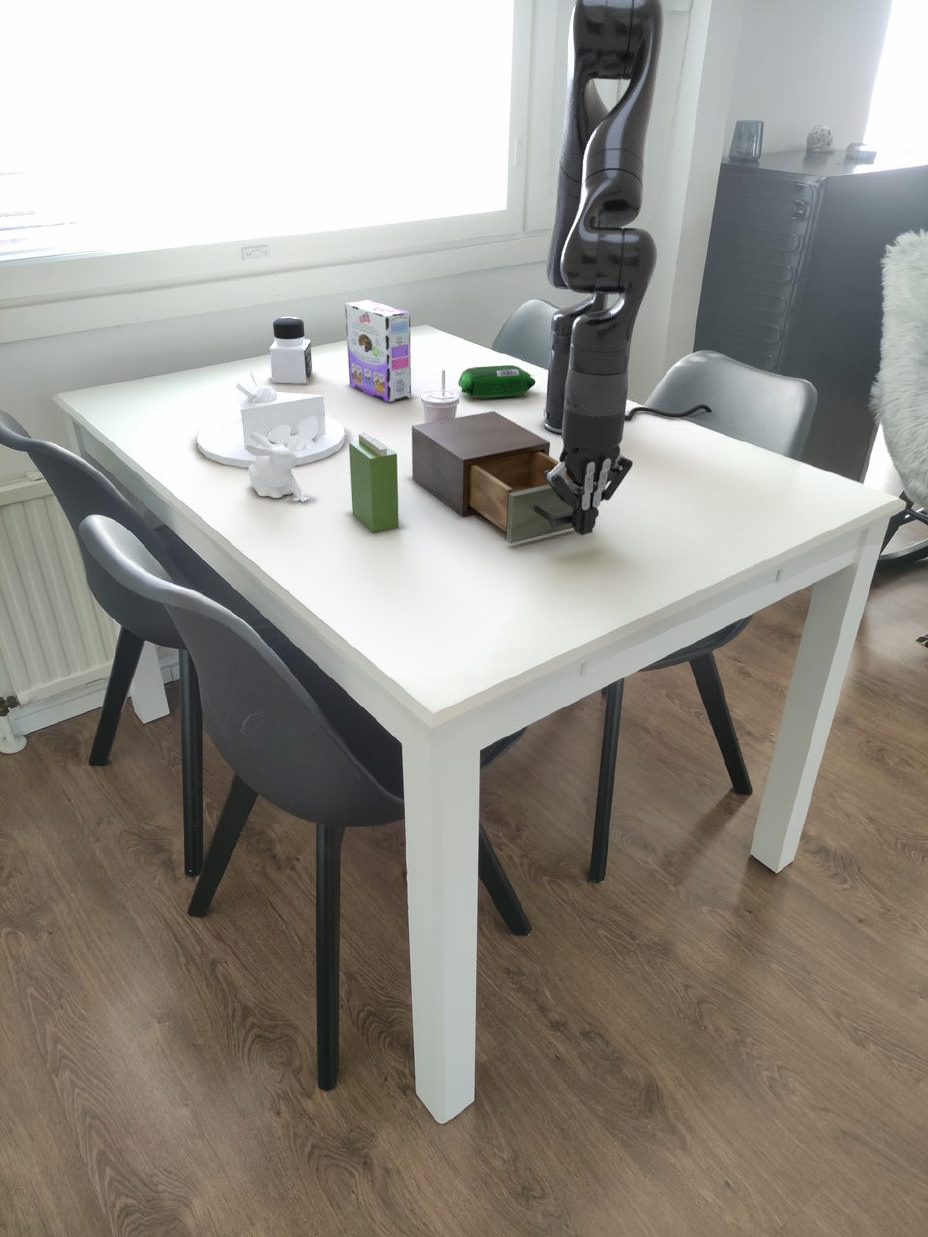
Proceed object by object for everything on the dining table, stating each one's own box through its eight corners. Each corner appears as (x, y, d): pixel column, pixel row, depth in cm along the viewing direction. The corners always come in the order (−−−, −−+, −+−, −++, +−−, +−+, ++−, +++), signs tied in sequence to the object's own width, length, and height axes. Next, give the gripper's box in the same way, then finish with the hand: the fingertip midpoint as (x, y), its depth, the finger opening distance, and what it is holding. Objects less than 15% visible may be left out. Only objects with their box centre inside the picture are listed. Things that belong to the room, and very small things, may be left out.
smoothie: (454, 460, 151) (455, 376, 144) (416, 457, 152) (415, 373, 145) (462, 447, 156) (463, 365, 149) (425, 443, 157) (425, 362, 150)
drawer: (615, 537, 126) (620, 491, 122) (532, 559, 120) (536, 511, 116) (534, 486, 140) (536, 443, 137) (457, 503, 134) (458, 459, 131)
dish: (196, 472, 145) (186, 403, 139) (201, 420, 166) (192, 357, 160) (351, 463, 149) (348, 395, 143) (337, 413, 170) (334, 352, 164)
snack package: (539, 398, 180) (541, 371, 177) (462, 402, 177) (463, 375, 174) (529, 387, 186) (530, 361, 183) (454, 391, 183) (454, 365, 180)
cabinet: (546, 497, 139) (550, 442, 134) (462, 516, 133) (463, 459, 128) (492, 462, 151) (493, 410, 146) (412, 479, 144) (411, 425, 140)
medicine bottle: (307, 384, 185) (302, 323, 178) (272, 383, 185) (266, 322, 178) (312, 373, 191) (308, 314, 185) (278, 373, 191) (273, 314, 185)
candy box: (412, 397, 179) (411, 311, 170) (388, 403, 175) (386, 315, 167) (371, 380, 187) (369, 297, 179) (347, 386, 184) (343, 301, 176)
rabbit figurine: (311, 501, 136) (306, 439, 131) (264, 513, 133) (257, 450, 127) (275, 475, 145) (270, 415, 139) (230, 485, 141) (223, 425, 136)
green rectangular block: (352, 514, 133) (348, 435, 126) (377, 508, 135) (374, 430, 128) (373, 532, 128) (370, 451, 121) (398, 527, 129) (396, 446, 123)
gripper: (568, 421, 106) (558, 554, 115) (656, 404, 111) (640, 532, 120) (532, 402, 111) (525, 531, 120) (618, 387, 117) (605, 511, 126)
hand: (582, 531), depth 120 cm, fingers closed
